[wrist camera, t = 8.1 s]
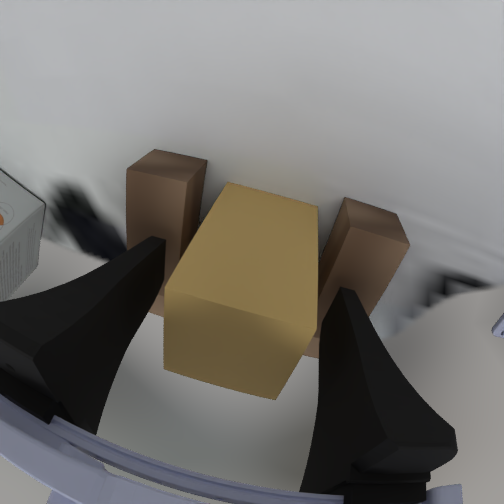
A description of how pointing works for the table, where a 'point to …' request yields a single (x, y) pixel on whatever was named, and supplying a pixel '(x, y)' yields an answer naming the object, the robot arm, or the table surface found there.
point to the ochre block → (244, 293)
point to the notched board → (333, 258)
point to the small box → (18, 235)
